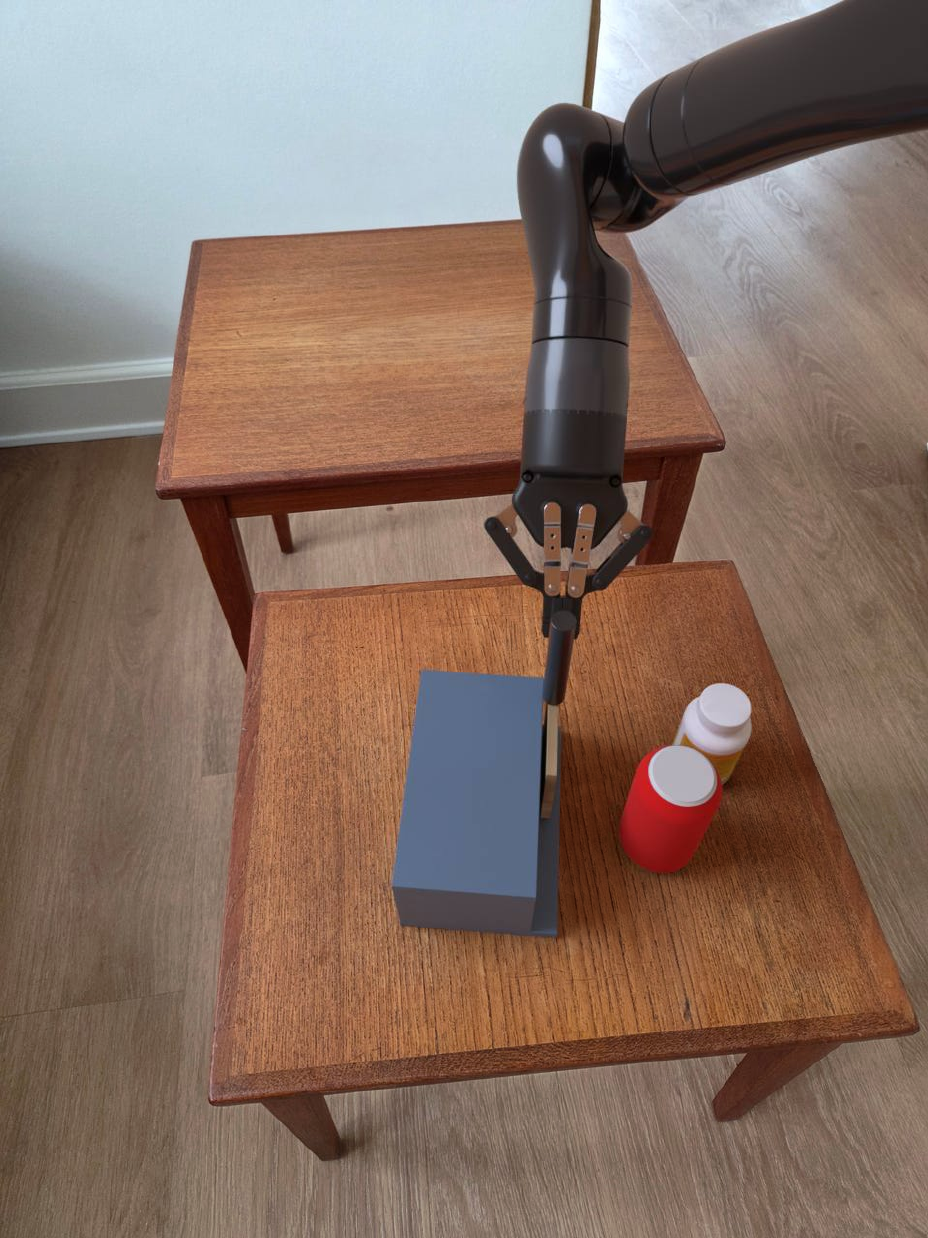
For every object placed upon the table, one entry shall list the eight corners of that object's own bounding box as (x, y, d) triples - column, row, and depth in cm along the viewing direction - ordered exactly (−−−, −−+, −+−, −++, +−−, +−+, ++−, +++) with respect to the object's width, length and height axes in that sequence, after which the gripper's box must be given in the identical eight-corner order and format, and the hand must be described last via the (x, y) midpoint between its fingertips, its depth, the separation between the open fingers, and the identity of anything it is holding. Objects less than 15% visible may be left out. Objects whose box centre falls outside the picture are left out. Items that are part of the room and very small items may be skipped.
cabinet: (560, 731, 76) (568, 678, 69) (556, 938, 65) (565, 900, 58) (426, 722, 76) (421, 669, 69) (400, 925, 66) (391, 886, 59)
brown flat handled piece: (557, 729, 74) (576, 604, 60) (556, 819, 69) (576, 705, 55) (537, 727, 74) (551, 602, 60) (534, 817, 69) (548, 704, 55)
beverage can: (670, 893, 67) (702, 831, 57) (602, 848, 69) (622, 781, 59) (706, 834, 70) (743, 765, 60) (640, 792, 72) (665, 720, 62)
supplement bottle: (737, 791, 72) (769, 734, 64) (673, 792, 72) (697, 735, 64) (724, 734, 75) (753, 674, 67) (663, 736, 75) (685, 675, 67)
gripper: (482, 401, 59) (469, 647, 61) (675, 409, 58) (655, 659, 60) (487, 412, 66) (475, 632, 69) (658, 420, 65) (641, 642, 68)
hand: (559, 644), depth 64 cm, fingers closed
